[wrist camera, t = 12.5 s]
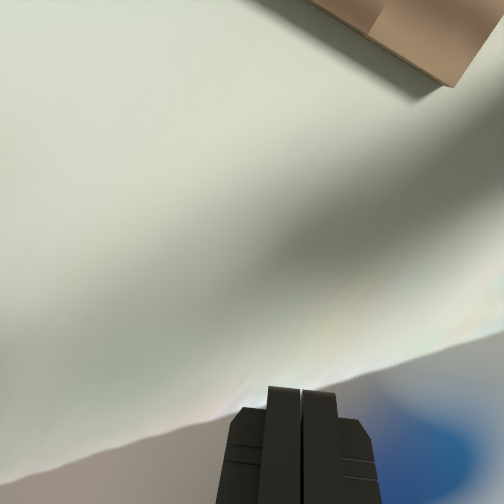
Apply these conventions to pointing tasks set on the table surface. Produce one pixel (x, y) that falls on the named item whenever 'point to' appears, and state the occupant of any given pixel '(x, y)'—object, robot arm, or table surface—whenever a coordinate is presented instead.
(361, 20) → the board
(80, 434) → the table surface
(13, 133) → the table surface
